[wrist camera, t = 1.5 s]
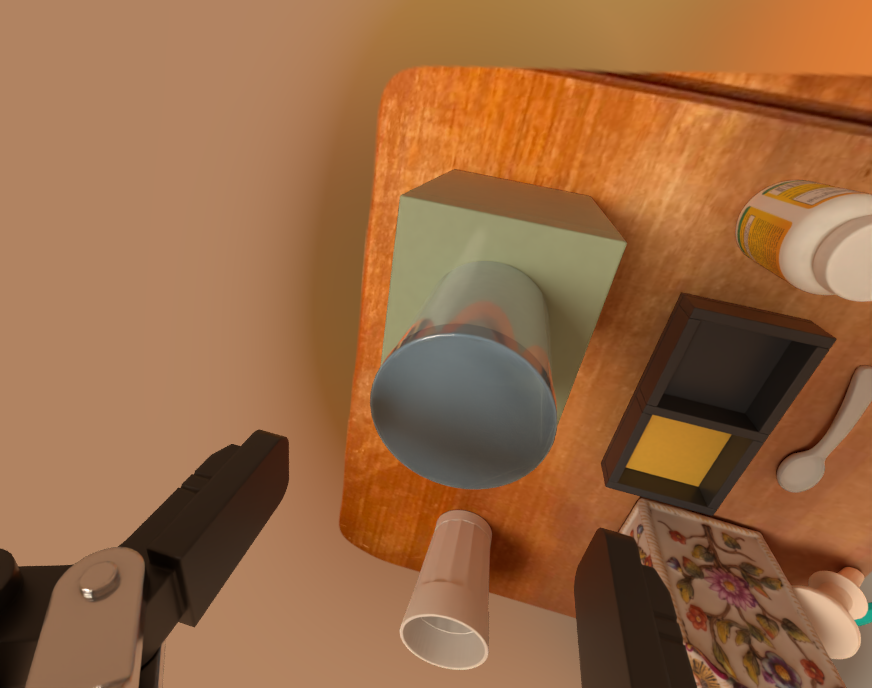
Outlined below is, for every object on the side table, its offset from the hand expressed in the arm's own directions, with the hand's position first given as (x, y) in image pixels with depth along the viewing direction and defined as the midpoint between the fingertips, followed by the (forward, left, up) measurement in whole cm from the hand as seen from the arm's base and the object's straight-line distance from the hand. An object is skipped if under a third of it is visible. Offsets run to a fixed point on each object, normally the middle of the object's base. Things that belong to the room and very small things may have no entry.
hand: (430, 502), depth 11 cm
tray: (+9, +18, -25) cm, 32 cm away
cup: (+32, +3, -26) cm, 41 cm away
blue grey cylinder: (0, 0, -11) cm, 11 cm away
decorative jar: (+26, +24, -25) cm, 43 cm away
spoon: (+9, +28, -26) cm, 39 cm away
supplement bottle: (-6, +17, -26) cm, 31 cm away
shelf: (0, 0, -25) cm, 25 cm away
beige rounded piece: (+22, +31, -18) cm, 42 cm away
